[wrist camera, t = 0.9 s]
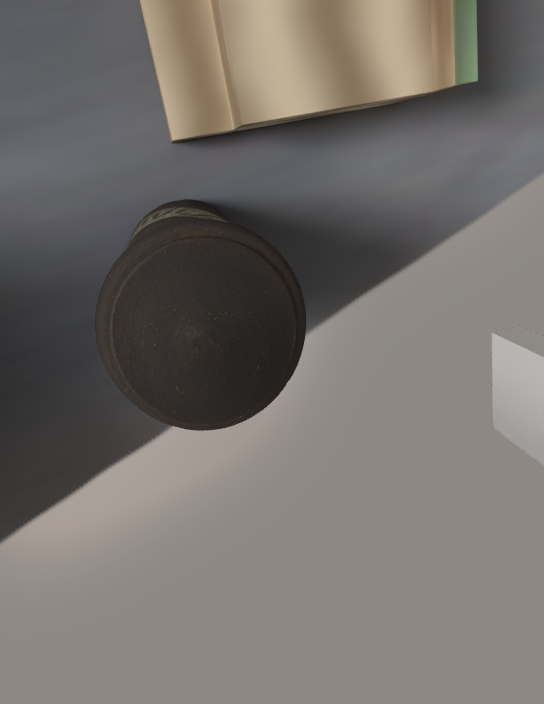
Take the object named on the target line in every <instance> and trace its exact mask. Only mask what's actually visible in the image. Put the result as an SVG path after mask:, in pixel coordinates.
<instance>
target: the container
mask: <svg viewBox="0 0 544 704" xmlns="http://www.w3.org/2000/svg"><path fill="white" fill-rule="evenodd" d="M95 330H96V339H97V344H98V348H99V351H100V355H101V358H102V360H103V363H104V365H105V367H106V369H107V371H108V373H109V375H110V376H111V378H112V380H113V381H114V382H115V384H116V385H117V387H118V388H119V389H120V391H121V392H122V393H123V394H124V395H125V396H126V397H127V398H128V399H129V400H130V401H131V402H132V403H133V404H135V405H136V406H137V407H138V408H139V409H141V410H142V411H144V412H145V413H147V414H148V415H150V416H151V417H153V418H155V419H157V420H159V421H161V422H163V423H166V424H169V425H172V426H175V427H179V428H184V429H189V430H215V429H221V428H226V427H230V426H233V425H236V424H238V423H241V422H243V421H245V420H247V419H249V418H251V417H253V416H254V415H255V414H257V413H259V412H260V411H262V410H263V409H264V408H265V407H267V406H268V405H269V404H270V403H271V402H272V401H273V400H274V399H275V398H276V397H277V396H278V395H279V394H280V392H281V391H282V390H283V388H284V387H285V386H286V384H287V382H288V381H289V380H290V378H291V376H292V375H293V373H294V371H295V369H296V367H297V364H298V362H299V359H300V356H301V353H302V349H303V345H304V340H305V332H306V312H305V305H304V299H303V295H302V291H301V288H300V285H299V283H298V280H297V278H296V276H295V274H294V272H293V271H292V269H291V267H290V266H289V264H288V263H287V262H286V260H285V259H284V258H283V256H282V255H281V254H280V253H279V252H278V251H277V250H276V249H275V248H274V247H273V246H272V245H271V244H270V243H269V242H267V241H266V240H265V239H263V238H262V237H261V236H259V235H257V234H256V233H254V232H252V231H250V230H248V229H246V228H244V227H241V226H239V225H236V224H233V223H230V222H229V221H228V220H227V219H226V218H225V217H224V216H223V215H222V214H221V213H219V212H218V211H217V210H216V209H214V208H212V207H211V206H209V205H207V204H205V203H202V202H199V201H195V200H187V199H185V200H179V201H173V202H169V203H166V204H163V205H161V206H159V207H158V208H156V209H154V210H153V211H151V212H150V213H149V214H148V215H146V216H145V217H144V218H143V219H142V220H141V221H140V222H139V224H138V226H137V227H136V229H135V230H134V232H133V234H132V236H131V239H130V241H129V244H128V248H127V250H125V251H124V252H123V253H122V255H121V256H120V257H119V258H118V259H117V261H116V262H115V263H114V265H113V267H112V268H111V270H110V271H109V273H108V275H107V277H106V279H105V281H104V283H103V286H102V288H101V291H100V294H99V298H98V302H97V307H96V316H95Z"/></svg>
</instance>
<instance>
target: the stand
mask: <svg viewBox="0 0 544 704" xmlns="http://www.w3.org/2000/svg"><path fill="white" fill-rule="evenodd" d="M139 1H140V6H141V10H142V14H143V19H144V23H145V28H146V32H147V37H148V41H149V46H150V50H151V54H152V59H153V63H154V68H155V72H156V77H157V81H158V86H159V90H160V94H161V99H162V103H163V108H164V112H165V117H166V121H167V125H168V130H169V134H170V139H171V143H173V142H179V141H184V140H190V139H196V138H201V137H207V136H213V135H218V134H224V133H230V132H235V131H241V130H247V129H252V128H258V127H264V126H269V125H275V124H281V123H286V122H292V121H298V120H303V119H309V118H315V117H320V116H326V115H332V114H337V113H343V112H349V111H354V110H360V109H365V108H371V107H377V106H382V105H388V104H394V103H399V102H404V101H407V100H411V99H415V98H418V97H422V96H425V95H429V94H433V93H436V92H440V91H443V90H447V89H451V88H454V87H458V86H461V85H465V84H469V83H472V82H476V81H478V60H477V4H476V0H139Z"/></svg>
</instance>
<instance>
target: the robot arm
mask: <svg viewBox="0 0 544 704" xmlns="http://www.w3.org/2000/svg"><path fill="white" fill-rule="evenodd" d="M492 386H493V428H494V429H496V430H497V431H498V432H499V433H501V434H502V435H504V436H505V437H506V438H507V439H509V440H510V441H511V442H513V443H514V444H515V445H517V446H518V447H519V448H521V449H522V450H524V451H525V452H526V453H527V454H529V455H530V456H532V457H533V458H534V459H535V460H537V461H538V462H539V463H541V464H542V465H543V466H544V336H542V335H540V334H538V333H535V332H533V331H531V330H528V329H526V328H524V327H521V326H516V327H512V328H508V329H504V330H500V331H496V332H492Z"/></svg>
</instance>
